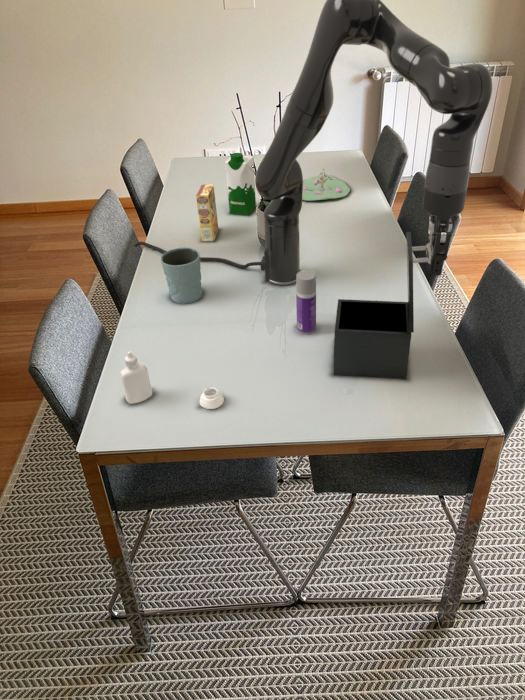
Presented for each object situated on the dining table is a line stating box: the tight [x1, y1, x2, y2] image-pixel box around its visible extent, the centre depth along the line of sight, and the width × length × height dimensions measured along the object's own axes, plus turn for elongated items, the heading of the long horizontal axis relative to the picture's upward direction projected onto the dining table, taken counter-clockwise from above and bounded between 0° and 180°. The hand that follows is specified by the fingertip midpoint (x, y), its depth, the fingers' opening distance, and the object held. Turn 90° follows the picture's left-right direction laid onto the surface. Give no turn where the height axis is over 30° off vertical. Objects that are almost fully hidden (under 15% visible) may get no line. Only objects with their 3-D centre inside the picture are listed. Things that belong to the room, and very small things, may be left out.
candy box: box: [195, 184, 220, 242], centre depth 187 cm, size 9×4×15 cm, turn 174°
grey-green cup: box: [160, 246, 203, 305], centre depth 159 cm, size 10×10×12 cm
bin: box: [332, 298, 412, 380], centre depth 132 cm, size 16×13×12 cm
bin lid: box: [406, 231, 432, 334], centre depth 122 cm, size 16×13×5 cm
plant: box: [302, 168, 351, 202], centre depth 216 cm, size 25×21×9 cm
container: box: [295, 270, 317, 335], centre depth 142 cm, size 5×5×15 cm
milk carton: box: [224, 152, 257, 217], centre depth 201 cm, size 9×9×20 cm
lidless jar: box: [199, 386, 225, 410], centre depth 125 cm, size 5×3×5 cm
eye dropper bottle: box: [119, 351, 153, 405], centre depth 125 cm, size 4×6×12 cm
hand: (434, 266), depth 119 cm, fingers closed on bin lid, 6 cm apart
